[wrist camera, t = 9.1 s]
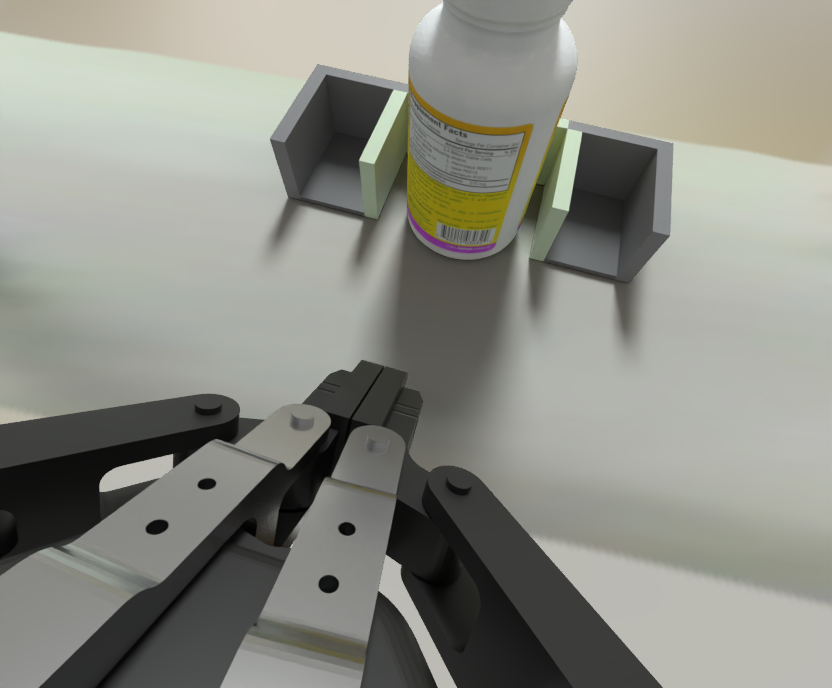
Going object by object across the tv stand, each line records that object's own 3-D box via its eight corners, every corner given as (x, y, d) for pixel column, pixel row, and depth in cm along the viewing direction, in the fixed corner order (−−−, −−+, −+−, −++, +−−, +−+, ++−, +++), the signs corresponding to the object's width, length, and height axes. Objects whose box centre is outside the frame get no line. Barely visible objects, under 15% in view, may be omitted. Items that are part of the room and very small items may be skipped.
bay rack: (288, 196, 25) (269, 138, 22) (327, 126, 28) (317, 64, 25) (628, 283, 24) (669, 235, 20) (635, 198, 26) (673, 143, 23)
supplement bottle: (469, 162, 27) (522, -123, 16) (541, 230, 25) (664, -43, 13) (383, 208, 25) (370, -77, 14) (453, 285, 23) (508, 24, 12)
